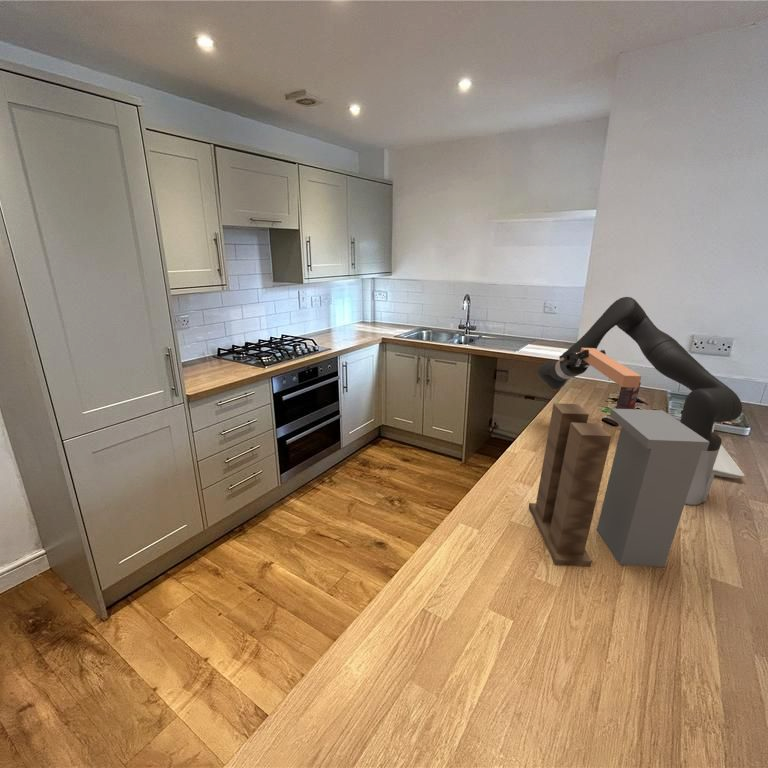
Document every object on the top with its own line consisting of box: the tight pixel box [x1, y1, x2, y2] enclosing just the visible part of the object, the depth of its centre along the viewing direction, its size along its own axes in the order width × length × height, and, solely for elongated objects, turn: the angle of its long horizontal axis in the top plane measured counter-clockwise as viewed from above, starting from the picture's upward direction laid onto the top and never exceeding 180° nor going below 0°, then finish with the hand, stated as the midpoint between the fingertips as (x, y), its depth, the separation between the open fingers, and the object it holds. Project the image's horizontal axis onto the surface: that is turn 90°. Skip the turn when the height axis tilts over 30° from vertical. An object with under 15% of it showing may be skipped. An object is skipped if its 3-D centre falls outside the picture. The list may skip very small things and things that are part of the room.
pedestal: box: [596, 408, 710, 568], centre depth 96 cm, size 12×16×32 cm
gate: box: [528, 402, 612, 568], centre depth 98 cm, size 8×21×32 cm, turn 178°
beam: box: [580, 348, 642, 389], centre depth 113 cm, size 26×4×3 cm, turn 178°
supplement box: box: [615, 381, 641, 409], centre depth 169 cm, size 9×5×16 cm, turn 132°
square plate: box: [712, 444, 745, 479], centre depth 143 cm, size 27×27×4 cm
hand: (595, 353), depth 120 cm, fingers closed on beam, 4 cm apart
